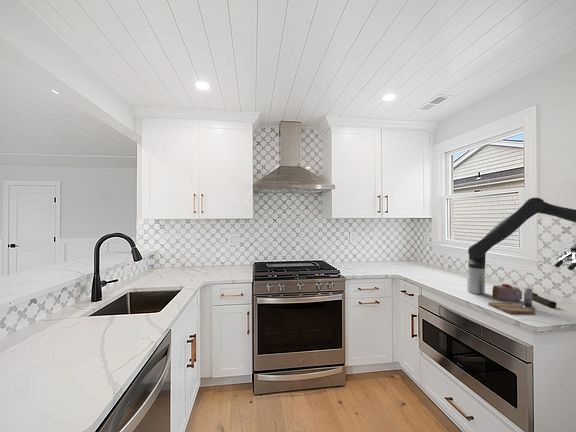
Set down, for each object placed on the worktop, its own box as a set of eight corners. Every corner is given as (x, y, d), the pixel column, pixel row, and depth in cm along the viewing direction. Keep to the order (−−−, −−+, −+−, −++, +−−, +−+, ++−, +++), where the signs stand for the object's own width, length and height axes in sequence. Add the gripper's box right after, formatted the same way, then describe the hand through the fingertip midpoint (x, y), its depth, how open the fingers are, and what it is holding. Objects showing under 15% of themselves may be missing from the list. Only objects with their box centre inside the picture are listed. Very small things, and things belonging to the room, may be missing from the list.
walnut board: (488, 305, 152) (488, 302, 152) (511, 305, 152) (511, 302, 152) (509, 314, 138) (509, 311, 138) (534, 314, 138) (534, 311, 138)
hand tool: (557, 308, 147) (557, 300, 147) (548, 308, 148) (548, 300, 148) (533, 298, 166) (533, 291, 166) (526, 298, 166) (526, 291, 167)
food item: (513, 298, 165) (513, 282, 165) (523, 302, 157) (523, 286, 157) (490, 297, 167) (490, 282, 167) (499, 301, 159) (499, 285, 159)
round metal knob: (518, 306, 150) (518, 287, 150) (528, 306, 150) (528, 287, 150) (527, 309, 144) (528, 290, 144) (537, 309, 144) (537, 290, 144)
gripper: (567, 241, 149) (546, 261, 151) (591, 242, 135) (567, 265, 137) (579, 250, 148) (557, 270, 149) (604, 252, 134) (580, 275, 135)
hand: (562, 267), depth 143 cm, fingers open, 8 cm apart
